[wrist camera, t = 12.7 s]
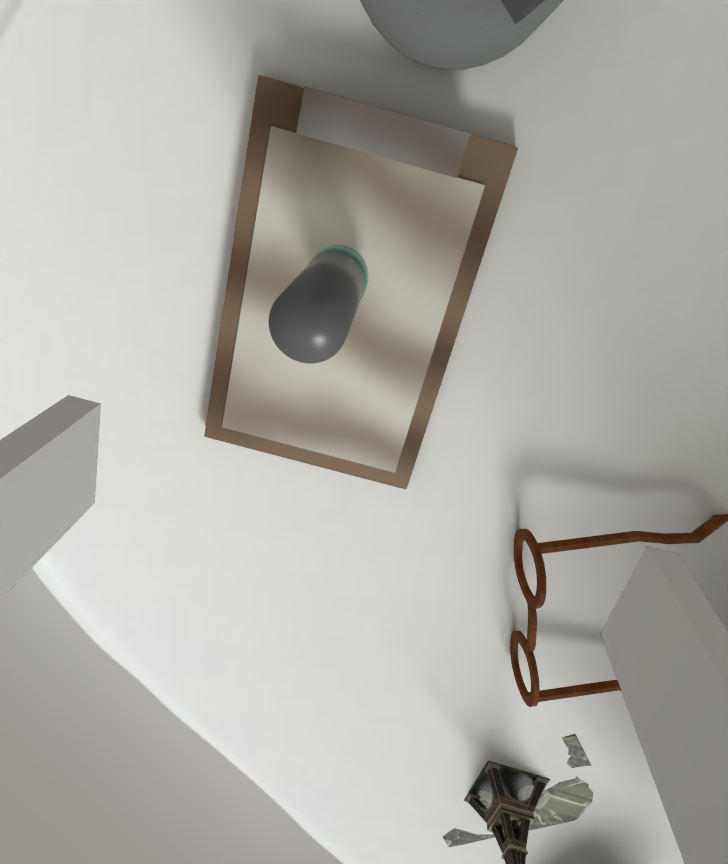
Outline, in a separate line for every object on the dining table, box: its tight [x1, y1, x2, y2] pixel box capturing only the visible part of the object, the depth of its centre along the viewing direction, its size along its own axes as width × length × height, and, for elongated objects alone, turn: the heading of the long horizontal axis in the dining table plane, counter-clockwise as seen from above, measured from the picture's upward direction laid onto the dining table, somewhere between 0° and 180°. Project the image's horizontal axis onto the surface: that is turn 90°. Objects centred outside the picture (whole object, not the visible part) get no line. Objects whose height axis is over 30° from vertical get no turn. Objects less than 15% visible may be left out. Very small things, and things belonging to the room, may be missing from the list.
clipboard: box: [204, 75, 518, 489], centre depth 33 cm, size 20×13×2 cm, turn 166°
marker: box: [269, 245, 368, 364], centre depth 28 cm, size 3×3×11 cm
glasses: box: [510, 514, 728, 707], centre depth 39 cm, size 13×13×5 cm
